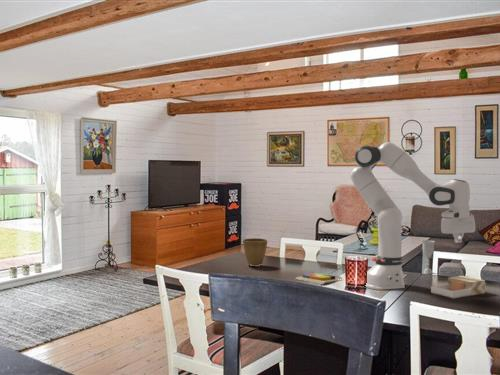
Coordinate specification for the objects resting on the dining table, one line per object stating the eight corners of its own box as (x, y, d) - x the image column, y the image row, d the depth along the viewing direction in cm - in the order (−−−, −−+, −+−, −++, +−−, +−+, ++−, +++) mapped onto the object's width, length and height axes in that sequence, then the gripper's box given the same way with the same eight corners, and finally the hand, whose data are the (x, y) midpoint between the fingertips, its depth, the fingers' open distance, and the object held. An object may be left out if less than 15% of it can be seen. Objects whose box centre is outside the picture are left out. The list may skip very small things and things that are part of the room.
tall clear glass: (425, 274, 263) (425, 242, 263) (418, 271, 270) (419, 240, 269) (437, 273, 264) (437, 241, 264) (430, 271, 271) (430, 240, 271)
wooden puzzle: (342, 280, 247) (342, 274, 247) (323, 286, 233) (323, 279, 233) (315, 276, 259) (315, 269, 259) (294, 281, 245) (294, 274, 245)
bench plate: (470, 295, 214) (470, 282, 214) (448, 290, 225) (448, 277, 225) (484, 293, 219) (484, 280, 219) (462, 287, 229) (462, 275, 229)
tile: (463, 293, 217) (460, 293, 215) (454, 290, 221) (451, 291, 220) (464, 282, 217) (460, 282, 215) (454, 280, 221) (451, 280, 220)
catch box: (453, 298, 208) (453, 291, 208) (430, 292, 219) (431, 286, 219) (470, 295, 214) (470, 288, 214) (448, 290, 225) (448, 283, 225)
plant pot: (238, 265, 288) (238, 239, 288) (260, 263, 295) (260, 237, 294) (248, 269, 275) (249, 241, 275) (271, 267, 281) (271, 240, 281)
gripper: (467, 212, 232) (467, 240, 232) (438, 213, 222) (438, 242, 222) (479, 213, 226) (478, 242, 226) (450, 214, 216) (449, 244, 217)
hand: (458, 242), depth 224 cm, fingers closed
